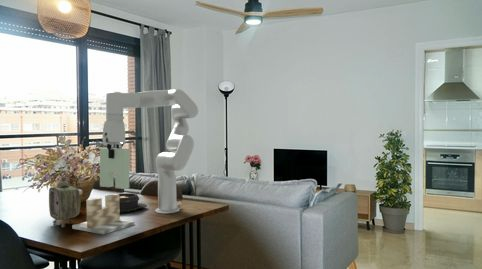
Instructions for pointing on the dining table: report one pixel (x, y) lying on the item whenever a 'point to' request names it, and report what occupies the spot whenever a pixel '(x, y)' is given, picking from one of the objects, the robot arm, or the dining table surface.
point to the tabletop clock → (64, 201)
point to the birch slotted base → (104, 227)
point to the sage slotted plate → (114, 168)
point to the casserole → (129, 202)
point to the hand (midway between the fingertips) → (114, 157)
